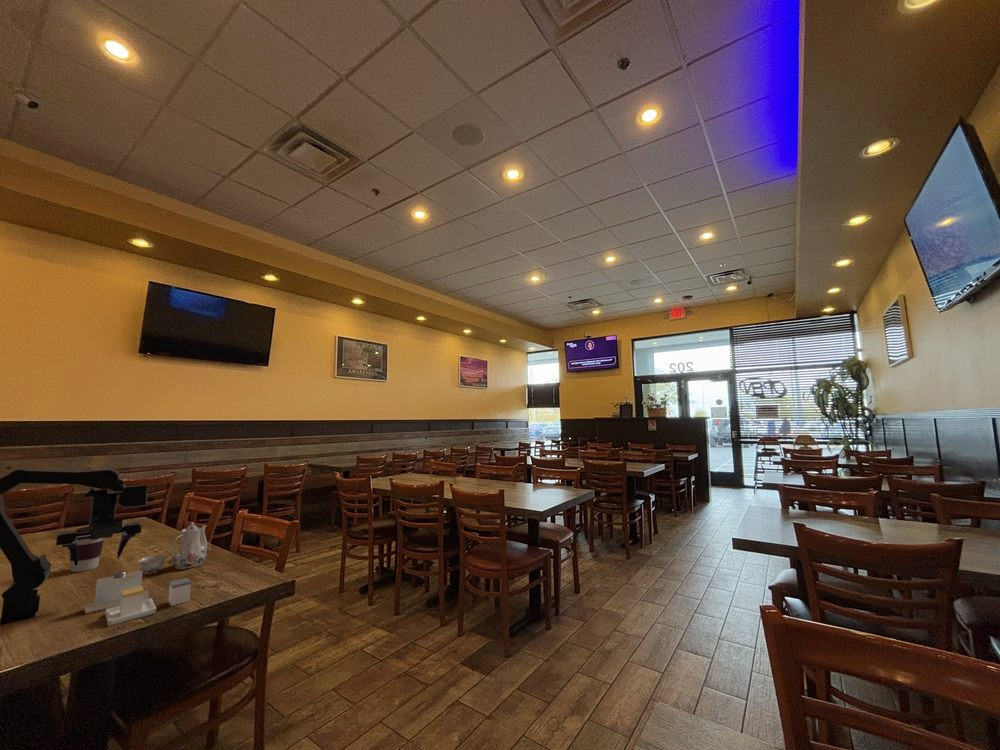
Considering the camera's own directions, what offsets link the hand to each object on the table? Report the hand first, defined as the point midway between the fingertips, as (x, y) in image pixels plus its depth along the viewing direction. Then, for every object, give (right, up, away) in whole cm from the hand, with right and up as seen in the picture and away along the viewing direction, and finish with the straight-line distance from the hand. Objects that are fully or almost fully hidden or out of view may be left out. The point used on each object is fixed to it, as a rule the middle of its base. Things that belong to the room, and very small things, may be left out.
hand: (97, 561), depth 126 cm
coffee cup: (-31, -15, +27) cm, 44 cm away
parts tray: (+19, -11, -9) cm, 23 cm away
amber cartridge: (+18, -10, -9) cm, 23 cm away
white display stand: (+8, -12, -2) cm, 15 cm away
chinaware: (+2, -16, +31) cm, 35 cm away
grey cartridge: (+26, -12, -1) cm, 29 cm away
